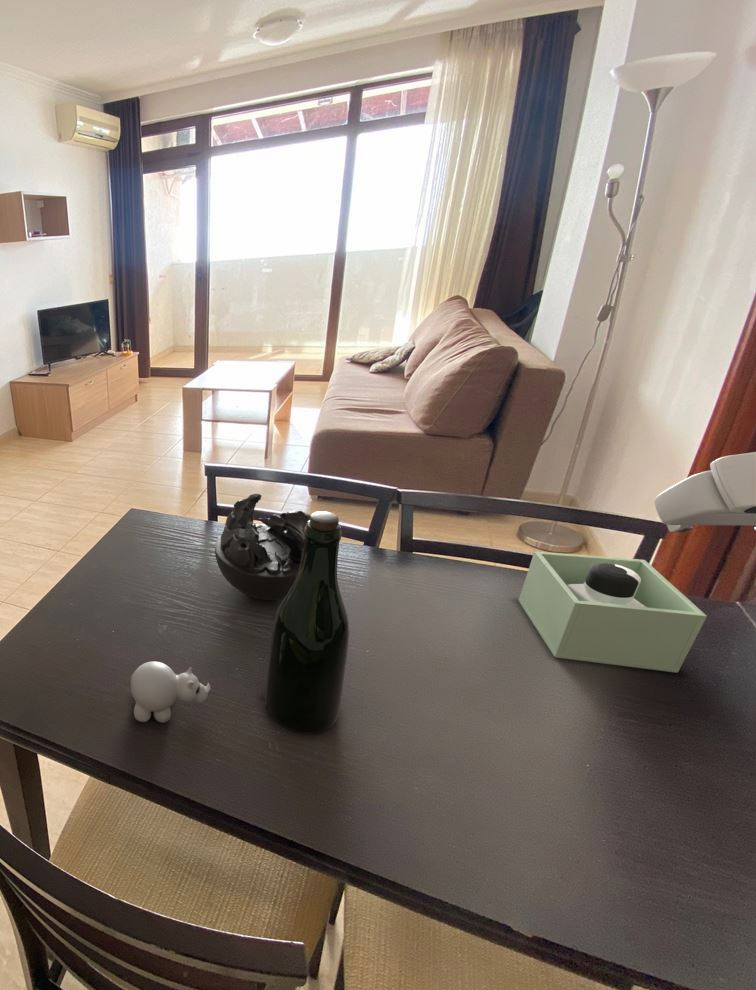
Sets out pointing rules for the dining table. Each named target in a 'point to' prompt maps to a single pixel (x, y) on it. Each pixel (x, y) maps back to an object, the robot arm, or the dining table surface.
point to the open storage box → (609, 615)
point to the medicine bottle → (608, 585)
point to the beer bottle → (310, 636)
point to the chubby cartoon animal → (163, 690)
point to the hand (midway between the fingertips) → (716, 527)
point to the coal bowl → (261, 550)
